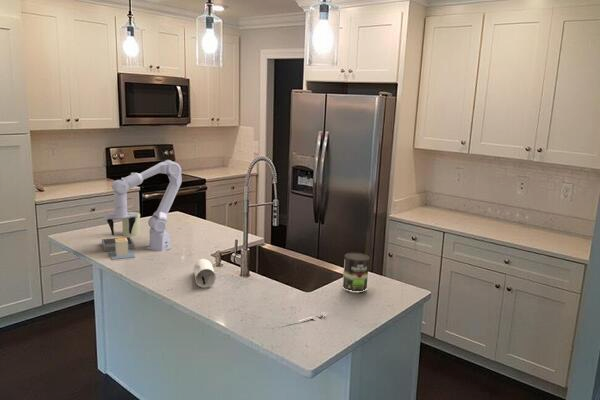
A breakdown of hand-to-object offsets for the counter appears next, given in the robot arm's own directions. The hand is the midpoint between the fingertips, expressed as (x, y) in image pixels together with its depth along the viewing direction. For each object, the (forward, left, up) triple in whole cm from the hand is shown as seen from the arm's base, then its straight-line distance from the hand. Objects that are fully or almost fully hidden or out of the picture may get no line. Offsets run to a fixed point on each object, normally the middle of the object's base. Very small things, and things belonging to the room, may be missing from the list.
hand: (121, 234), depth 224 cm
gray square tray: (+7, -5, -9) cm, 13 cm away
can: (+17, -24, -10) cm, 31 cm away
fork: (-103, +21, -10) cm, 106 cm away
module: (-3, +4, -8) cm, 10 cm away
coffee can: (-110, -17, -10) cm, 112 cm away
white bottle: (-51, +8, -10) cm, 53 cm away
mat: (-4, +4, -9) cm, 11 cm away
